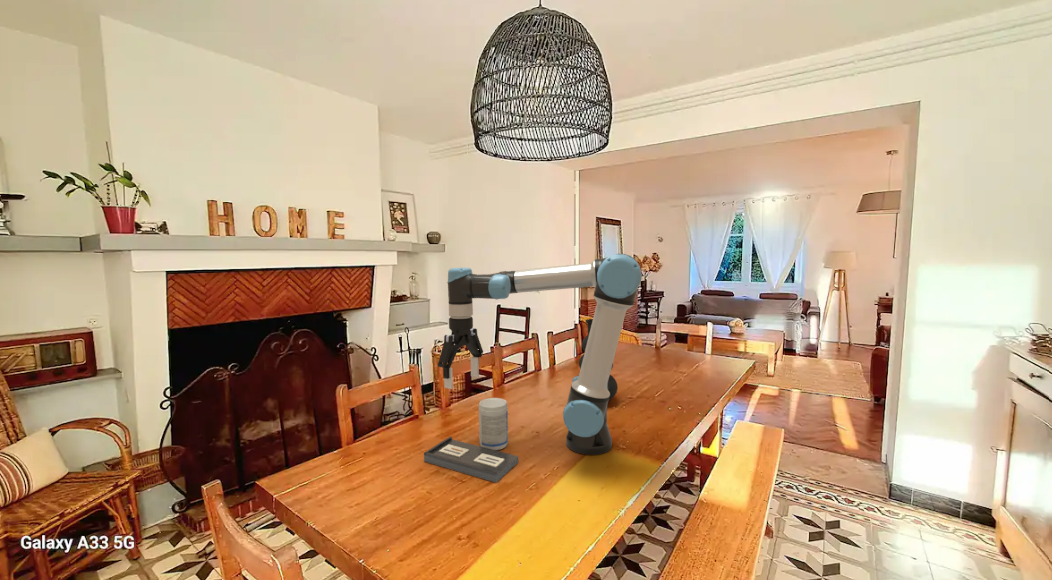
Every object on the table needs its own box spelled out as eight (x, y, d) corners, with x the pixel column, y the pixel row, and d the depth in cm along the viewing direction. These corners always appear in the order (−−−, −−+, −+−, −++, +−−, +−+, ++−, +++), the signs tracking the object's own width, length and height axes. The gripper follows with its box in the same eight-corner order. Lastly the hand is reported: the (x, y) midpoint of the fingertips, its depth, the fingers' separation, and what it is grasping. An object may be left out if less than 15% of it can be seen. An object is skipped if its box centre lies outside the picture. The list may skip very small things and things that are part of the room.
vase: (623, 399, 188) (625, 319, 184) (607, 413, 172) (609, 326, 169) (584, 391, 198) (585, 315, 194) (565, 404, 182) (566, 321, 178)
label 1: (469, 450, 137) (469, 449, 137) (459, 457, 132) (459, 456, 132) (448, 445, 141) (448, 444, 141) (438, 451, 136) (438, 450, 136)
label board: (518, 462, 133) (518, 453, 133) (496, 482, 122) (496, 473, 122) (450, 444, 145) (450, 436, 145) (424, 461, 134) (423, 452, 134)
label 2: (504, 460, 131) (504, 458, 131) (496, 467, 126) (496, 466, 126) (482, 454, 135) (482, 452, 135) (473, 461, 130) (473, 459, 130)
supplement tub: (513, 446, 144) (513, 403, 142) (488, 454, 139) (487, 409, 137) (498, 436, 152) (498, 395, 150) (474, 443, 147) (473, 400, 145)
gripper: (474, 310, 150) (475, 370, 152) (424, 321, 129) (426, 391, 131) (492, 312, 147) (493, 373, 149) (444, 323, 125) (446, 395, 127)
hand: (462, 382), depth 140 cm, fingers open, 13 cm apart
